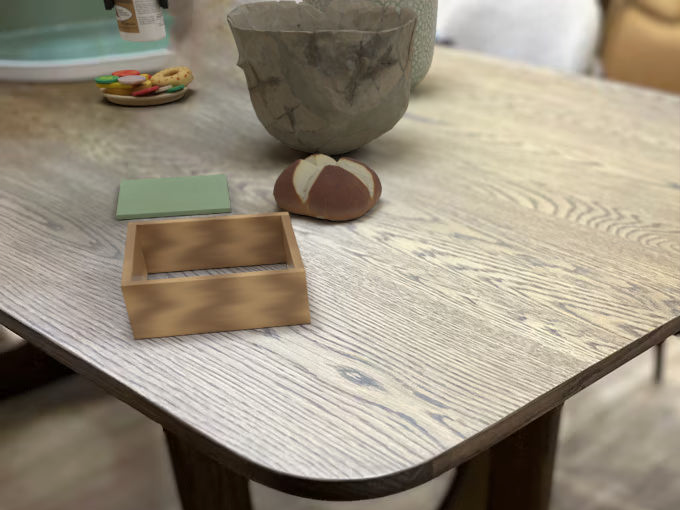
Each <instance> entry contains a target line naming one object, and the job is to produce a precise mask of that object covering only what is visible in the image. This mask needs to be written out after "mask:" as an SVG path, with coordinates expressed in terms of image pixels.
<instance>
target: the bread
mask: <svg viewBox="0 0 680 510" xmlns="http://www.w3.org/2000/svg"><path fill="white" fill-rule="evenodd" d="M382 191H383V186H382V182H381V180H380V178H379V176H378V174H377V173H376V171H375V170H374V169H373V168H371V166H369V165H367V164H366V163H365V162H362V161H361V160H357V159H355V158H352V157H348V156H347V157H346V156H345V157H344V156H342V157H340V158H339V159H338V161H336V159H334V158H332V157H331V156H330V155H323V154H315V153H312V154H310V155H309V156H307V157H306V158H304V159H302V158H298V159H296V160H294V162H293V163H291V164H290V165H288V166H287V167H286V168H284V169H283V171H282V172H281V173H280V174H279V176H278V177H277V178H276V180H275V183H274V185H273V191H272V193H273V194H272V195H273V198H274V199H273V200H274V201H275V203H276V204H277V206H279V207H280V208H281V209H282V210H284V211H285V212H288V213H290V214H295V215H301V216H308V217H312V218H316V219H321V220H328V221H331V222H332V221H333V222H342V221H350V220H354V219H358V218H360V217H363V216H364V215H365V214H366V213H367V212H368V211H370V210H371V209H372V208H374V207H375V205H376V204H377V202H378V201H379V200H380V198H381V196H382Z"/></svg>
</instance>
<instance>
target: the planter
mask: <svg viewBox="0 0 680 510" xmlns="http://www.w3.org/2000/svg"><path fill="white" fill-rule="evenodd" d="M303 1H307V2H308V3H309V4H310V5H312V6H313V7H314V8H316V9H318V10H320V11H321V12H322V13H323V12H324V8H325V7H328V6H329V4H330V3H331V2H332V1H333V0H302V2H303ZM350 1H354V0H350ZM355 1H369V2H374V3H376V4H378V5H382V6H383V7H384V8H385V11H386V8H387V6H388V5H391V6H394V7H395V8H396V11H397V12H398V14H400V10H401V8H403V7H407V8H409V9H411V10H413V11H416V13H417V15H418V22H417V27H416V33H415V39H414V45H413V47H414V49H415V52H414V53H413V58H412V72H411V83H410V92H411V91H412V90H414V89H415V88H417V86H418V85H419V84H420V83H422V81H423V80H424V79H425V78H426V76H427V75H428V74H429V71H430V69H431V66H432V63H433V60H434V54H435V45H436V35H437V33H436V32H437V25H438V12H439V11H438V9H439V0H355Z"/></svg>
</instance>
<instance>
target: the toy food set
mask: <svg viewBox="0 0 680 510" xmlns="http://www.w3.org/2000/svg"><path fill="white" fill-rule="evenodd" d="M194 79H195V77H194V74H193V72H192V70H191V69H190V68H189V67H187V66H182V65H181V66H172V67H168V68H165V69H161V70H160V71H158V72H155V74H153V75H151V74H149V73H140V71H139V70H136V69H123V70H122V69H121V70H116V71H113V72H112V73H111V75H110V74H109V75H107V74H106V75H101V76H97V77H95V78H94V82H95V83H96V87H97V88H98V89H99V91H100V94H101V95H102V97H104V98H106V99H107V100H108V101H109V102H111V103H113V104H117V105H123V106H133V107H135V106H136V107H139V106H142V107H143V106H154V105H155V106H156V105H162V104H167V103H172V102H175V101H178V100H180V99H182V98H183V97H184V96H185V93H186V92H187V91H188V89H189V86H188V85H190V84H191V83H193V81H194Z"/></svg>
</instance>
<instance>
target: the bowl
mask: <svg viewBox="0 0 680 510" xmlns="http://www.w3.org/2000/svg"><path fill="white" fill-rule="evenodd" d="M226 21H227V23H228V26H229V29H230V31H231V34H232V36H233V40H234V43H235V45H236V50H237V53H238V60H237V62H236V63H235V64H236V66H237V67H239V68H240V69H241V70H243V73H244V76H245V81H246V85H247V86H246V87H247V90H248V93H249V99H250V101H251V106H252V108H253V111H254V113H255V115H256V117H257V119H258V121H259V123H260V124H261V125H262V126H263V128H264V129H265V130H266V131H267V133H268V134H269V135H270V136H272V137H273V138H274V139H276V140H277V141H278V142H280V143H281V144H283V145H285V146H287V147H290V148H292V149H294V150H297V151H301V152H305V153H309V154H323V155H326V156H337V155H338V156H339V155H342V154H343V155H344V154H346V153H347V154H348V153H349V152H352V151H354V150H356V149H359V148H361V147H363V146H365V145H368V144H369V143H372V142H374V141H375V140H377V139H378V138H380V137H381V136H383V135H384V134H386V133H387V132H390V131H391V130H392V129H393V128H394V127H395V126H396V125H397V124H398V123H399V122H400V121H401V119H402V118H403V117H404V115H405V114H406V112H407V110H408V107H409V103H410V95H411V94H410V92H411V91H410V83H411V72H412V58H413V53H414V52H415V49H414V47H413V45H414V39H415V33H416V27H417V22H418V15H417V13H416V11H413V10H411V9H409V8H407V7H403V8H401V10H400V14H398V12H397V11H396V8H395V7H394V6H391V5H388V6H387V8H386V11H385V8H384V7H383V6H382V5H378V4H376V3H374V2H369V1H355V0H354V1H350V0H333V1H332V2H331V3H330V4H329V6H328V7H325V8H324V12H323V13H322V12H321V11H320V10H318V9H316V8H314V7H313V6H312V5H310V4H309V3H308V2H307V1H303V0H302V1H299V2H298V3H297V2H296V0H279V1H277V0H266V1H255V2H248V3H243V4H240V5H237V6H236V7H235V8H234V9H233V10H231V11H230V12H228V13H227V14H226Z"/></svg>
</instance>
